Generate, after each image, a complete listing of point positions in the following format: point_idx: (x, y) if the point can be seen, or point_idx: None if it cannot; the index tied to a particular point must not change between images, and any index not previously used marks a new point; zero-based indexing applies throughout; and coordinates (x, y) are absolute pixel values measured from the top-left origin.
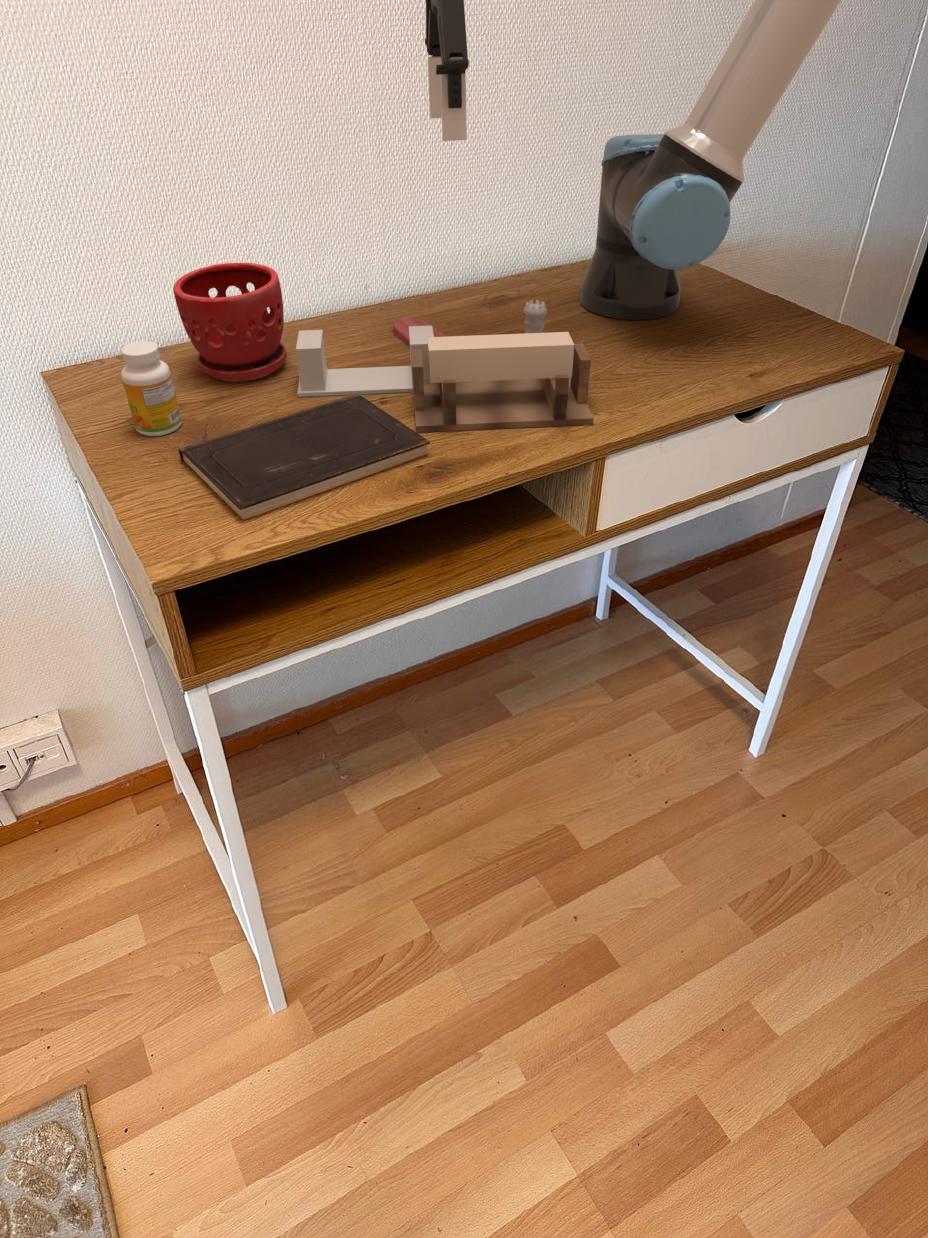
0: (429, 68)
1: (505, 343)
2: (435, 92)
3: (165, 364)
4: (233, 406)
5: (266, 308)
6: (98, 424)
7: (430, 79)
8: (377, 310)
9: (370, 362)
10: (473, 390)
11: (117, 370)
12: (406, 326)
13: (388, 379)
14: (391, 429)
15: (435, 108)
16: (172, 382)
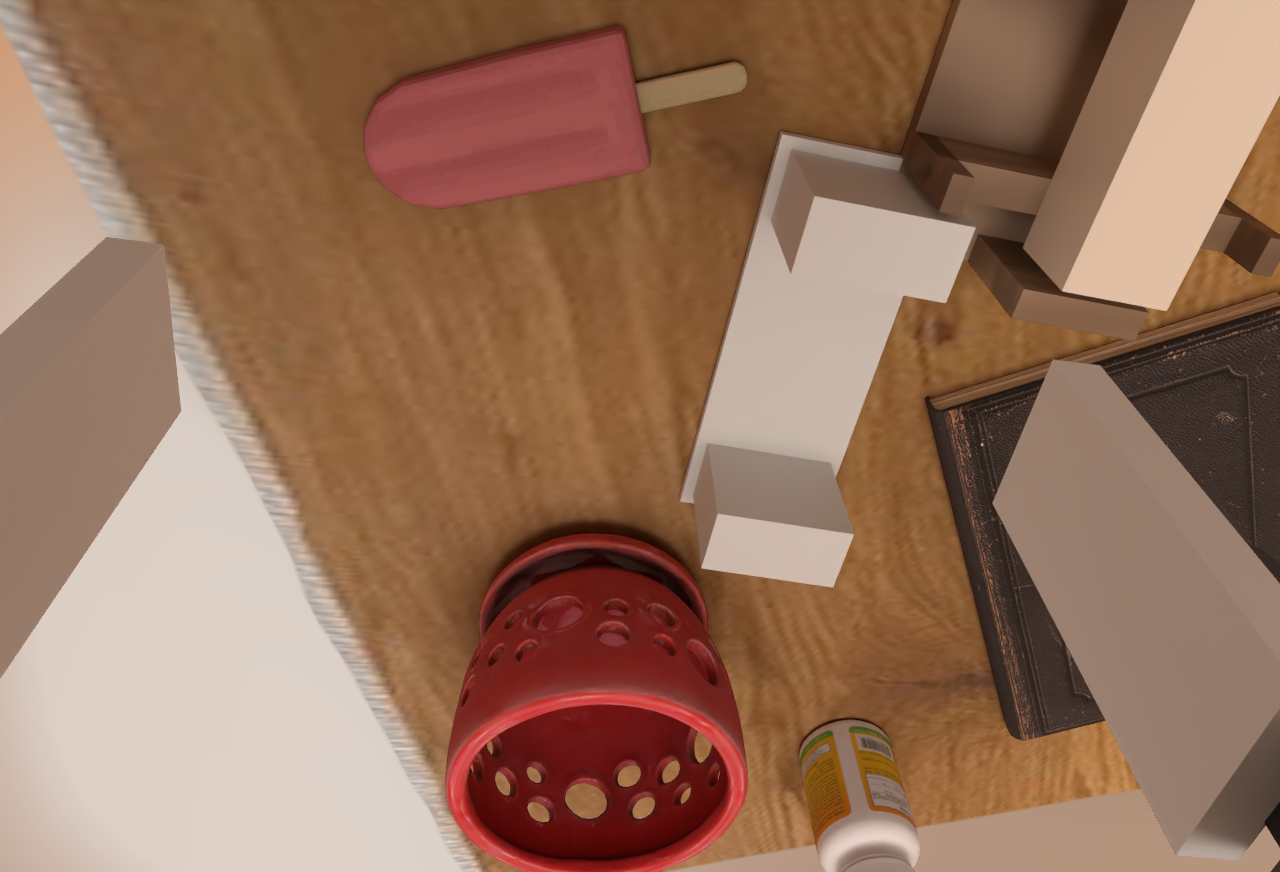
0: (7, 666)
1: (1269, 39)
2: (99, 479)
3: (875, 832)
4: (808, 635)
5: (506, 626)
6: (787, 826)
7: (50, 587)
8: (202, 211)
9: (662, 317)
10: (1042, 78)
11: (532, 810)
12: (455, 168)
13: (832, 301)
14: (1192, 375)
15: (151, 410)
16: (874, 794)
